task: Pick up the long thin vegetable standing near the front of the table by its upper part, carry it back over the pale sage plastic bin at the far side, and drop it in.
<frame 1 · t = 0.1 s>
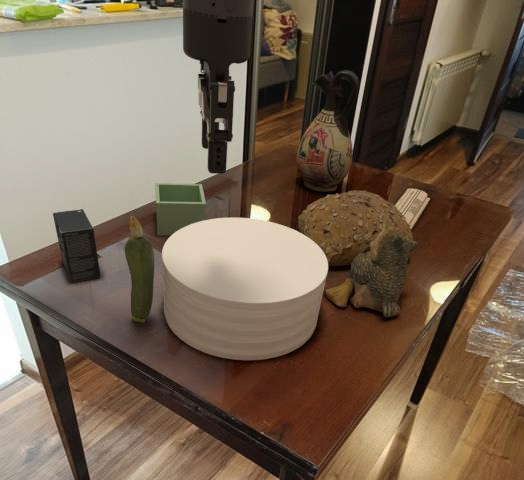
hand: (213, 159, 62), 30 cm above the table, tool pointing down, fingers open, 8 cm apart
figurine: (366, 299, 96), on the table
newspaper: (408, 210, 132), on the table
box: (81, 271, 94), on the table
vegetable: (144, 322, 84), on the table
plate stack: (241, 310, 89), on the table
ceramic jug: (321, 187, 138), on the table
bread: (348, 246, 112), on the table
bin: (180, 224, 112), on the table
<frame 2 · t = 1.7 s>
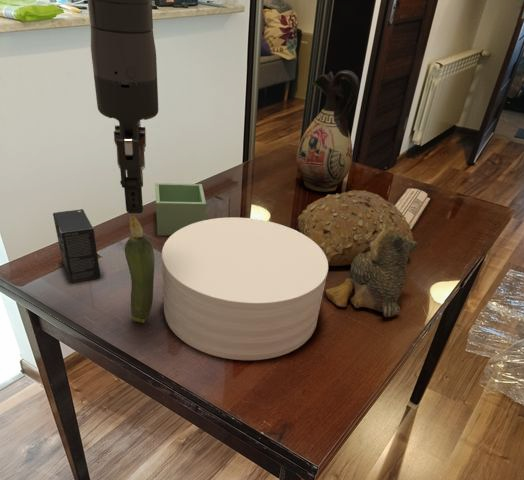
hand: (135, 199, 69), 22 cm above the table, tool pointing down, fingers open, 8 cm apart
nothing on the table moved.
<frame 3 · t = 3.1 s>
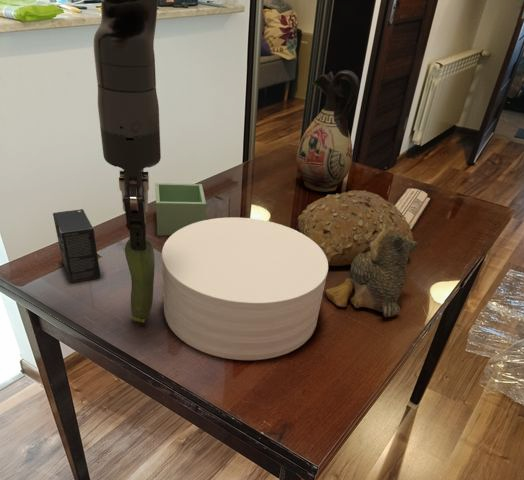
hand: (139, 242, 74), 15 cm above the table, tool pointing down, fingers closed on vegetable, 3 cm apart
vegetable: (144, 322, 84), on the table, touching gripper
everything else where it was.
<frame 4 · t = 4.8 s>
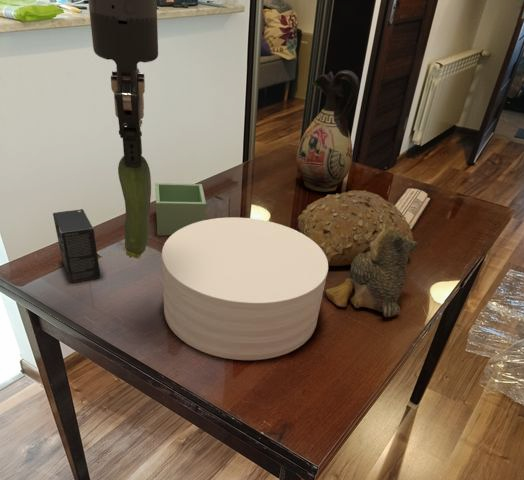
hand: (133, 160, 66), 27 cm above the table, tool pointing down, fingers closed on vegetable, 3 cm apart
vegetable: (140, 259, 76), point 12 cm above the table, touching gripper
everything else where it was.
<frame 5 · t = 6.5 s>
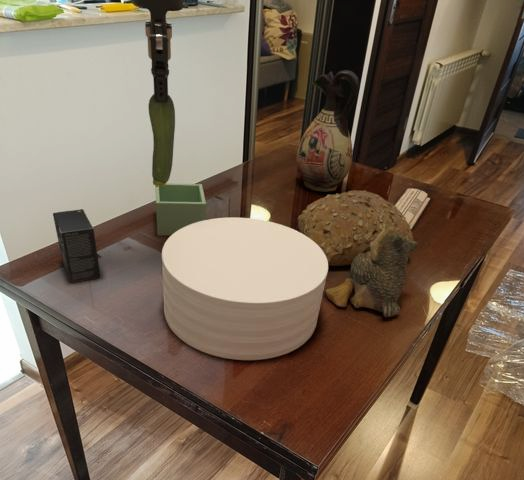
hand: (161, 98, 80), 30 cm above the table, tool pointing down, fingers closed on vegetable, 3 cm apart
vegetable: (164, 188, 90), point 15 cm above the table, touching gripper
everything else where it was.
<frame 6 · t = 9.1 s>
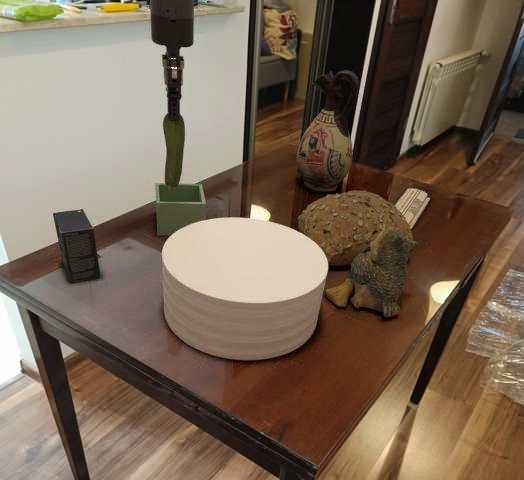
hand: (173, 116, 96), 24 cm above the table, tool pointing down, fingers closed on vegetable, 3 cm apart
vegetable: (174, 192, 106), point 8 cm above the table, touching gripper
everything else where it was.
when the fingers open (21 cm above the table, at t = 10.2 s): vegetable drops 5 cm, resting on bin.
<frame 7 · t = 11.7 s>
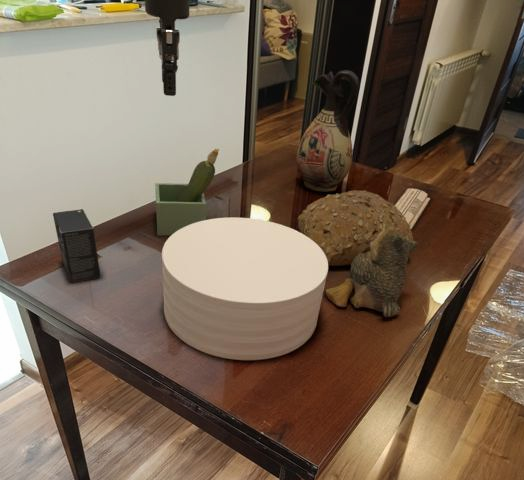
hand: (168, 89, 91), 29 cm above the table, tool pointing down, fingers open, 8 cm apart
vegetable: (174, 222, 111), point 1 cm above the table, touching bin
everything else where it was.
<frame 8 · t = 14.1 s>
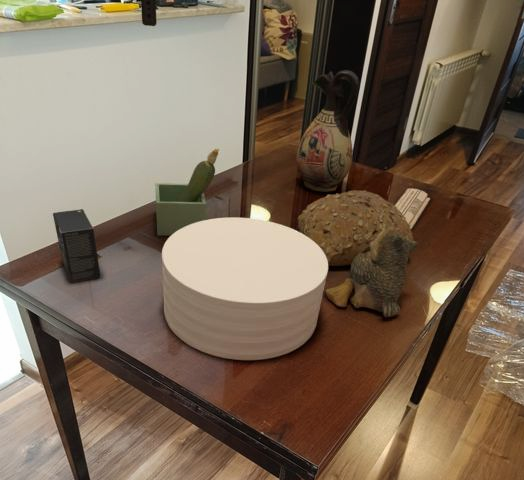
hand: (149, 21, 79), 40 cm above the table, tool pointing down, fingers open, 8 cm apart
nothing on the table moved.
at the end: vegetable inside the target area in the bin (1.4 cm from its centre), point 0.6 cm above the bin's base; the gripper is holding nothing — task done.
